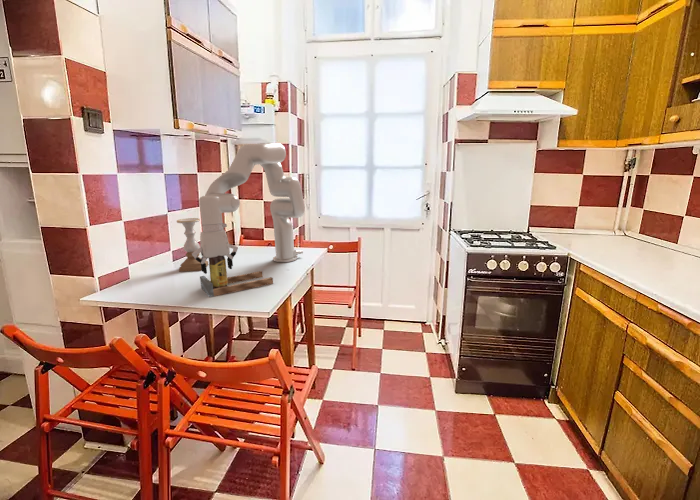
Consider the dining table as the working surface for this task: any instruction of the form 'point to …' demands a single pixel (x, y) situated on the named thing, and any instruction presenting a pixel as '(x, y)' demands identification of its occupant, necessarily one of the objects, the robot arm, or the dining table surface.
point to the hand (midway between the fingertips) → (217, 270)
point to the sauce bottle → (218, 271)
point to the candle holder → (190, 246)
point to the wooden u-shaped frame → (211, 292)
